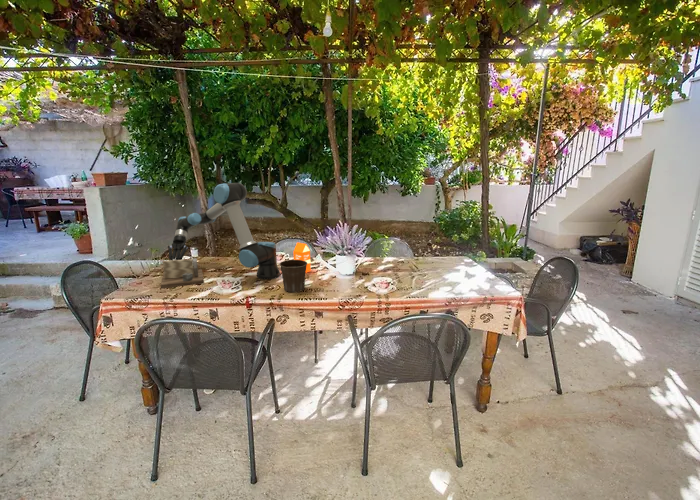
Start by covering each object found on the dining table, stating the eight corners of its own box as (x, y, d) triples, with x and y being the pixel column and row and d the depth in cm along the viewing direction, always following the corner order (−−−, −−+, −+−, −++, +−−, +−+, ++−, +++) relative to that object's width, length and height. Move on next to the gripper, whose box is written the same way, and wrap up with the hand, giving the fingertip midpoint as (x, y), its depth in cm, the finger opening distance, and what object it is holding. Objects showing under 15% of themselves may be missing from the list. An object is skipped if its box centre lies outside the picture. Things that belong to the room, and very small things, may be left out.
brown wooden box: (203, 283, 230) (201, 261, 227) (161, 288, 221) (158, 266, 218) (202, 271, 255) (200, 251, 252) (163, 275, 246) (161, 255, 243)
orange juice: (303, 273, 250) (302, 244, 245) (293, 271, 255) (292, 243, 250) (311, 270, 256) (310, 242, 251) (301, 268, 261) (300, 241, 256)
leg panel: (194, 275, 237) (192, 259, 235) (193, 276, 236) (191, 259, 233) (165, 277, 233) (163, 261, 231) (164, 278, 231) (162, 261, 229)
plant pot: (310, 292, 214) (309, 265, 210) (282, 295, 209) (281, 268, 206) (305, 283, 229) (304, 258, 225) (279, 286, 224) (278, 260, 221)
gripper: (192, 240, 250) (185, 271, 238) (172, 240, 249) (164, 271, 237) (188, 234, 243) (181, 266, 232) (168, 234, 243) (160, 266, 231)
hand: (173, 269), depth 234 cm, fingers closed
